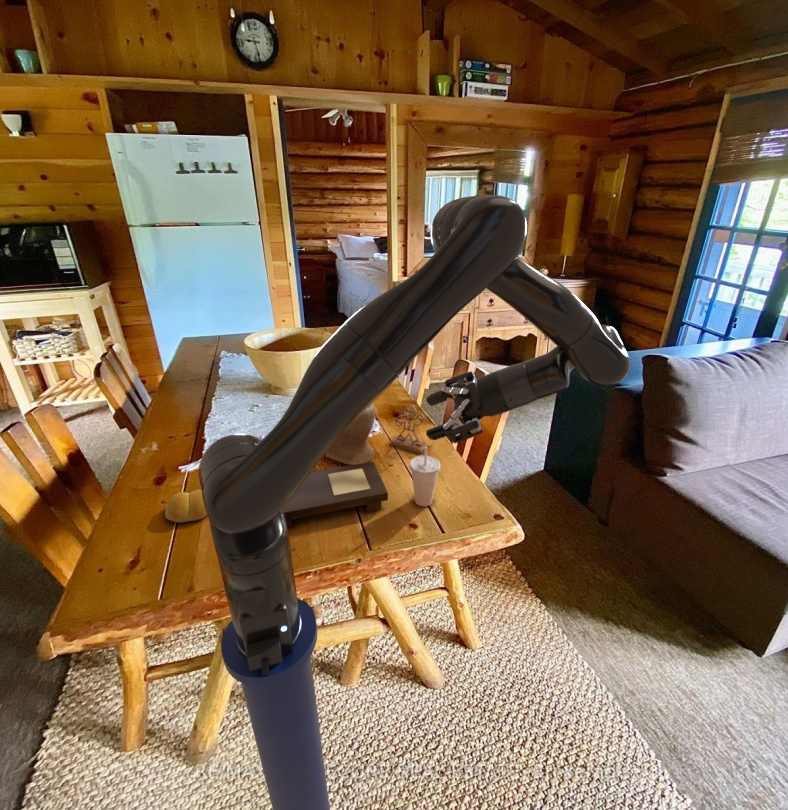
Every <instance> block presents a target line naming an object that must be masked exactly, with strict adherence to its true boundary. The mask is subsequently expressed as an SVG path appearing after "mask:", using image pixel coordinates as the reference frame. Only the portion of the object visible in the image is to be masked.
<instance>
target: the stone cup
mask: <svg viewBox="0 0 788 810" xmlns="http://www.w3.org/2000/svg"><path fill="white" fill-rule="evenodd" d="M375 419H376V407H375V405H374V402H373V403H372V404H371V405H370V406H369V407H368V408H367V409H366V410H365V411H364V412H363V413H362V414H361V415H360V416H359V418H358V419H357V420H356V421H355V422H354V423H353V424H352V425H351V426H350V428H349V429H348V430H347V431H346V432H345V433H344V434H343V435H342V436H341V437H340V438H339V440H338V441H337V442H336V443H335V444H334V445H333V446H332V447H331V448H330V449H329V451H328V452H327V453H326V454H325V455H324V456H323V457H325V458H328V459H331V460H333V461H336V462H338V463H341V464H344V465H346V466H350V465H356V464H362V463H368V462H371V461H372V459H373V458H374V456H375V454H376V450H375V448H373V447H372V446H371V445H369V444H368V439H369V436H370V434H371V432H372V429H373V427H374V422H375Z"/></svg>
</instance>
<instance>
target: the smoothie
mask: <svg viewBox="0 0 788 810" xmlns="http://www.w3.org/2000/svg"><path fill="white" fill-rule="evenodd" d="M409 470H410V471H411V478H412V479H411V480H412V487H413V494H414V502H415V504H416V505H417V506H420V507H428V506H430V505H431V504H432V503H433V499H434V494H435V489H436V484H437V480H438V475H439V473H440V472H441V462H440V461H439V460H438V459H437V458H436V457H434V456H431V455H428V446H427V447H425V450H424V455H418V456H415V457H413V458H412V459H411V460H410V461H409Z"/></svg>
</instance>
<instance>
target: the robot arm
mask: <svg viewBox="0 0 788 810" xmlns="http://www.w3.org/2000/svg"><path fill="white" fill-rule="evenodd" d="M527 231H528V224H527V217H526V214H525V212H524V210H523V208H522V207H521V205H520V204H519V203H517V202H516V201H515V200H513V199H511V198H510V197H507V196H505V195H504V196H503V195H498V194H480V195H479V194H478V195H472V196H470V195H469V196H464V197H460V198H456V199H452V200H451V201H449V202H447V203H446V204H444V205H443V206H442V207H441V208H440V209H439V210H437V212H436V214H435V216H434V218H433V219H432V223H431V227H430V242H431V246H432V250H433V251H434V253H433V255H432V256H431V257H430V258H429V259H428V260H427V261H426V262H425V263H424V265H422V266H421V267H420V268H419V269H418V270H416V272H414V273H413V274H412V275H411V276H409V277H407V278H406V279H405V280H402V281H401V282H399V283H398V284H397V285H395V286H394V287H391V288H390V289H389V290H387V291H385V292H383V293H382V294H380V295H378V296H377V297H376V298H374V299H372V300H371V301H369V302H368V303H366V304H365V305H364V306H362V307H361V308H360V309H358V310H357V311H355V312H354V313H353V314H352V315H351V316H350V317H349V318H348V319H346V320H345V321H344V323H342V325H341V326H339V328H338V329H337V330H336V331H335V332H334V333H333V334H332V335H331V336H330V338H328V340H326V341H325V343H324V344H323V345H322V346H321V347H320V349H318V351H316V353H315V355H314V356H313V357H312V360H311V361H310V363H309V365H308V366H307V369H306V371H305V372H304V374H303V377H302V379H301V381H300V383H299V385H298V387H297V389H296V391H295V393H294V395H293V397H292V399H291V402H290V404H289V406H288V408H287V409H286V411H285V412H284V414H283V416H281V418H280V419H279V420H278V422H277V423H276V424H275V426H274V427H273V428H272V429H271V430H270V431H269V433H267V435H266V436H264V437H263V438H262V439H261V438H259V437H257V436H254V435H251V434H247V433H233V434H229V435H226V436H223V437H221V438H219V439H216V441H214V442H213V443H211V445H210V446H208V448H207V449H206V450H205V451H204V453H203V455H202V457H201V459H200V462H199V465H198V478H199V479H198V480H199V485H200V490H201V492H202V497H203V502H204V506H205V510H206V513H207V515H206V516H208V522H209V528H210V533H211V536H212V542H213V547H214V550H215V554H216V559H217V561H218V566H219V570H220V575H221V579H222V584H223V587H224V592H225V595H226V600H227V604H228V608H229V612H230V617H231V621H233V626H234V629H235V633H236V640H237V645H238V648H239V651H240V652H241V654H242V655H243V656H244V657H246V658H247V661H248V665H249V669H250V671H252V670H256V669H259V668H262V674H263V675H267V674H268V673H269V665H273V664H276V663H280V662H282V657H283V656H287V655H290V654H293V652H294V651H293V646H294V645H295V643H296V642H297V640H298V639H299V636H300V633H301V629H302V624H301V617H300V614H299V607H298V600H297V598H298V594H297V586H296V577H295V570H294V562H293V556H292V555H293V554H292V548H291V540H290V533H289V528H288V526H287V522H286V519H285V515H284V511H283V508H284V506H285V505H286V504H287V503H288V501H289V500H290V499H291V498H292V496H293V495H294V494H295V492H296V491H297V490H298V488H299V487H300V486H301V485H302V483H303V482H304V481H305V479H306V478H307V477H308V475H309V474H310V473H311V472H313V470H314V469H315V468H316V466H317V465H318V464H319V462H321V460H322V459H323V457H325V456H324V455H325V454H326V453H327V452H328V451H329V449H330V448H331V447H332V446H333V445H334V444H335V443H336V442H337V441H338V440H339V438H340V437H341V436H342V435H343V434H344V433H345V432H346V431H347V430H348V429H349V428H350V426H351V425H352V424H353V423H354V422H355V421H356V420H357V419H358V418H359V416H360V415H361V414H362V413H363V412H364V411H365V410H366V409H367V408H368V407H369V406H370V405H371V404H372V403H373V404H374V402H376V401H377V400H378V398H380V397H381V396H382V395H383V393H384V392H385V391H386V390H387V389H388V388H389V387H390V386H391V385H392V384H393V383H394V382H395V381H396V380H397V379H398V378H399V376H400V375H402V373H403V372H404V371H405V369H406V368H407V367H408V366H409V365H410V364H411V363H412V362H413V361H414V360H415V358H416V357H417V356H418V355H419V354H420V353H421V352H423V351H424V349H425V348H426V347H427V346H428V345H429V344H430V343H431V342H432V341H433V340H434V339H435V338H436V337H437V336H438V335H439V334H440V333H441V331H442V330H443V329H444V328H445V327H446V326H447V325H448V323H450V322H451V321H452V320H453V318H454V317H456V316H457V315H458V314H459V313H460V312H461V311H462V310H463V309H464V308H465V307H466V306H468V305H469V304H470V303H471V302H472V301H473V300H474V299H476V298H477V297H478V296H479V295H480V294H482V293H483V292H484V291H485V290H488V291H489V292H491V293H492V294H494V296H496V297H498V298H499V299H501V300H502V301H503V302H504V303H506V304H507V305H508V306H510V307H511V308H512V309H514V310H515V311H516V312H517V313H518V314H520V315H521V316H522V317H523V318H524V319H526V320H527V321H528V322H529V323H530V324H531V325H532V326H534V327H535V328H536V329H537V330H538V331H539V332H541V333H542V334H543V336H545V337H546V338H547V339H548V340H549V341H550V342H552V343H553V344H554V345H555V347H553V348H552V349H551V350H550V351H548V352H546V353H543V354H541V355H538V356H536V357H533V358H531V359H528V360H525V361H522V362H520V363H515V364H511V365H509V366H505V367H503V368H501V369H497V370H495V371H493V372H490V373H488V374H485V375H483V376H480V377H476V375H475V374H474V373H473V372H472V371H467V372H465V373H462V374H458V375H456V376H453V377H450V378H447V379H446V380H445V381H444V384H445V386H444V387H443V388H441V390H439V391H436V392H433V393H430V394H429V395H427V396H426V397H425V398H426V399H425V400H426V402H427V404H428V405H429V406H430V407H433V406H436V405H439V404H442V403H443V402H447V401H448V400H452V401H453V403H454V408H453V409H454V412H453V413H452V414H451V415H450V418H449V420H448V421H447V422H446V423H445V424H440V425H437V426H435V427H433V428H430V429H427V430H426V431H425V435H426V436H427V437H428V439H429V440H432V441H437V440H439V439H443V438H445V437H448V438H449V439H450V440H451V442H452V443H453V444H457V443H460V442H463V441H465V440H468V439H470V438H473V437H475V436H478V435H481V434H482V433H483V432H484V429H483V428H482V426H481V423H480V420H482V419H483V418H484V417H491V418H493V417H496V416H498V415H502V414H504V413H508V412H510V411H513V410H516V409H519V408H522V407H525V406H527V405H530V404H531V403H533V402H536V401H538V400H541V399H543V398H547V397H550V396H553V395H555V394H558V393H562V392H563V391H565V390H567V389H568V388H569V386H570V381H571V378H570V376H571V372H572V371H573V370H574V369H576V370H577V371H578V373H579V374H580V375H581V377H583V378H584V379H585V380H587V381H588V382H589V383H591V384H593V385H596V386H599V387H612V386H615V385H617V384H619V383H621V382H623V381H624V380H625V379H626V378H627V376H628V374H629V372H630V369H631V359H630V356H629V354H628V352H627V350H626V347H625V346H624V343H623V341H622V339H621V337H620V334H619V333H618V331H617V330H616V328H614V327H613V326H611V325H608V324H602V323H601V324H600V322H599V320H598V318H597V317H596V315H595V313H594V312H593V311H592V310H590V308H589V307H588V306H586V304H585V303H584V302H583V301H582V300H580V298H579V297H578V296H577V295H576V294H575V293H573V292H572V291H571V290H569V289H568V288H567V287H566V286H564V285H563V284H561V283H560V282H558V281H557V280H555V279H554V278H552V277H550V276H548V275H547V274H545V273H543V272H542V271H540V270H538V269H537V268H535V267H534V266H533V265H531V264H530V263H528V262H527V261H525V260H524V259H523V258H522V257H520V254H521V252H522V250H523V248H524V246H525V242H526V239H527V233H528V232H527ZM460 419H461V420H460Z"/></svg>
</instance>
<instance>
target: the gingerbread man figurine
mask: <svg viewBox="0 0 788 810" xmlns="http://www.w3.org/2000/svg"><path fill="white" fill-rule="evenodd" d="M409 407H410V408H411V409H410V408H409ZM409 412H410V413H409ZM402 413H403V414H400V415H398V416H397V417H396V418H395V420H394V424H395V425H396V426H397V427H399V428H400V427H402V426H403V429H402V431H401V432H400V434H399V435H396V437H394V438H393V439H392V440H391V441H390V445H391V446H393V447H396V448H399V449H402V450H406V451H408V452H413V453H416V454H418V455H422V454H423V453H424V452H425V447H428V444H427V443H425V442H422V441H420V438H419V436H418V435H417V432H416V427H419V426H421V425H422V424H423V423H424V422H425V415H424V414H422V413H418V411H417V408H416V407H415V406H414V405H413V404H409V403H408V404H406V405H404V406H403V408H402ZM399 418H405V420H401V419H399ZM416 420H418V421H420V423H413V425H411V423H412V422H414V421H416ZM407 421H408V422H407ZM406 424H408V426H407V425H406ZM411 427H412V428H411ZM405 430H406V431H409V432H408V433H407V435H406V436H404V435H403V433H404V432H405ZM411 432H412V433H413V435H414V438H415V439H414V438H413V435H412V434H411ZM408 437H409V438H408Z"/></svg>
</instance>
